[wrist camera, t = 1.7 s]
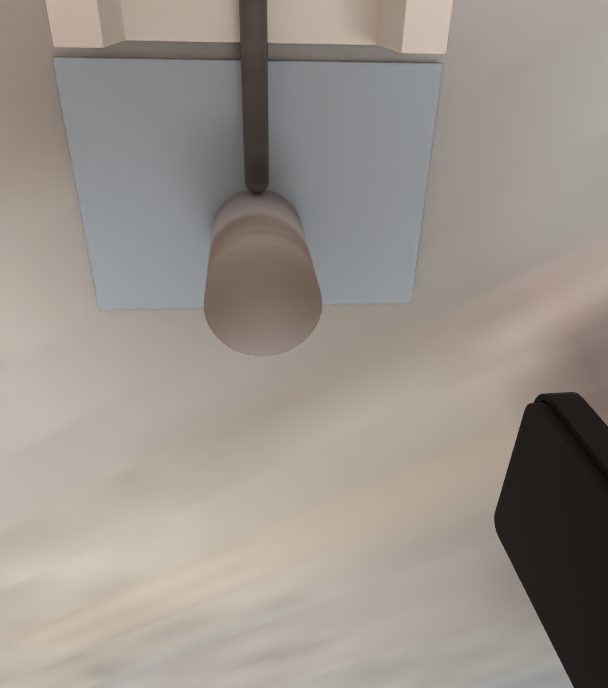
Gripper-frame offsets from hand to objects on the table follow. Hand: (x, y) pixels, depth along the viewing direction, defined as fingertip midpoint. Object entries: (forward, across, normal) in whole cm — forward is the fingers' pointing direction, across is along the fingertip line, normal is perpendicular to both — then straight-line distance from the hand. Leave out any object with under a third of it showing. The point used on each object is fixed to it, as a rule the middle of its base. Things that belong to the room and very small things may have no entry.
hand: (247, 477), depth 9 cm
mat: (+13, -1, -1) cm, 13 cm away
